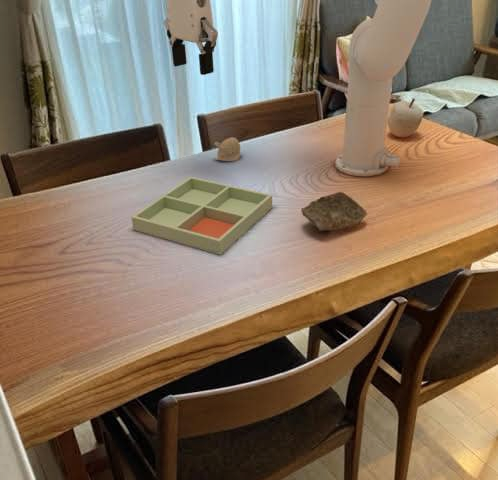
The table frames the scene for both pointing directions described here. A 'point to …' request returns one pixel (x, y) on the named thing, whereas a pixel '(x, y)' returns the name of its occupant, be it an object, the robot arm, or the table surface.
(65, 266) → the table surface
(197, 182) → the grid
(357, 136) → the robot arm
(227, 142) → the decorative ornament
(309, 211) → the stone
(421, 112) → the decorative object
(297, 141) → the table surface
